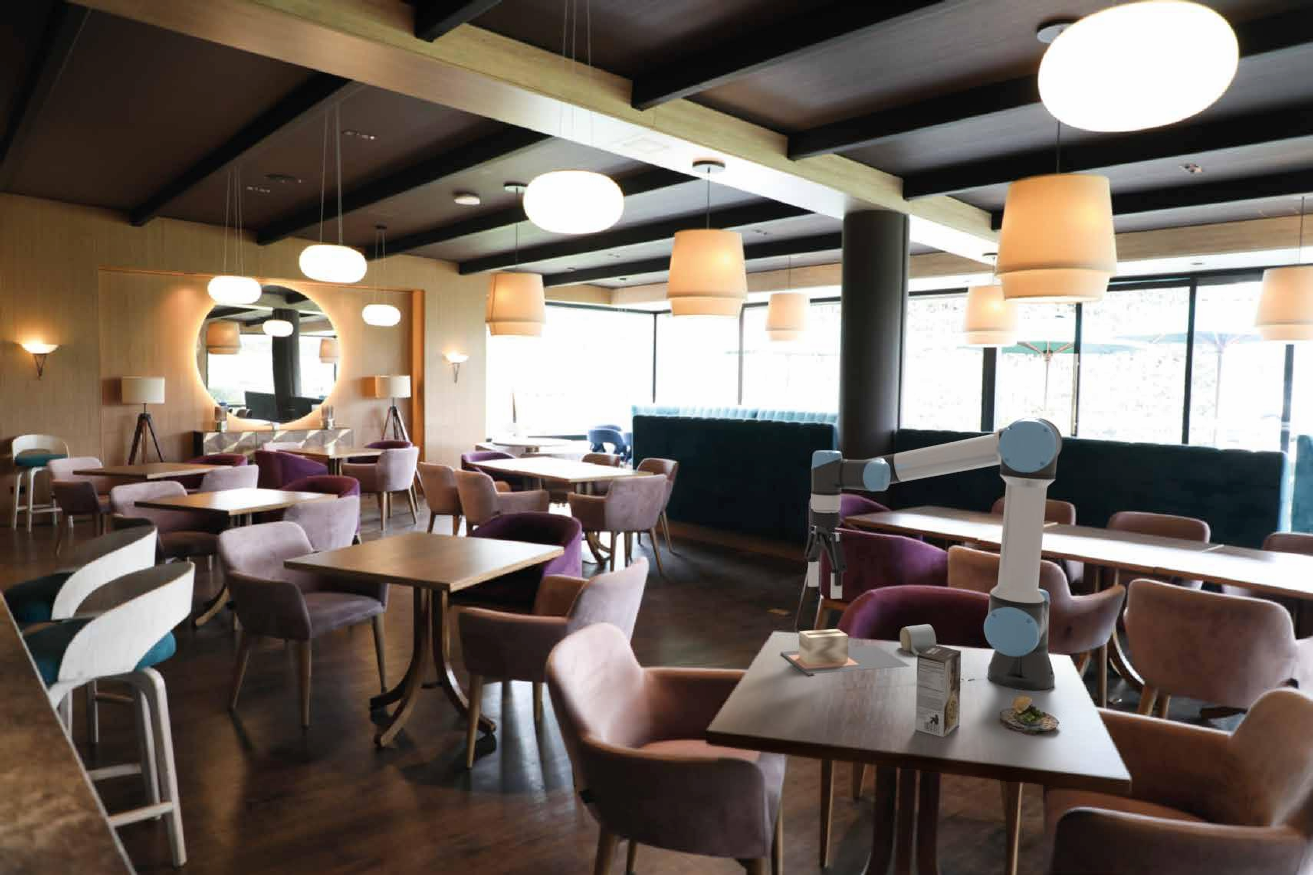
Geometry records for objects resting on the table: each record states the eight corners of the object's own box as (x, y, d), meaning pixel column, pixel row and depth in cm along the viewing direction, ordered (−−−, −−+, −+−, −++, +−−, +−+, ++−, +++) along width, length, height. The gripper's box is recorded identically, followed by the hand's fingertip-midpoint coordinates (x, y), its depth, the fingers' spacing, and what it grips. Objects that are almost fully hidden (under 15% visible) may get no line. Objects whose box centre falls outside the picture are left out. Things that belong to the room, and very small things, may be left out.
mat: (910, 668, 218) (910, 665, 218) (808, 675, 211) (808, 673, 211) (875, 647, 235) (875, 644, 235) (780, 654, 228) (780, 651, 228)
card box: (808, 664, 217) (808, 637, 217) (798, 657, 223) (799, 630, 223) (847, 661, 220) (848, 634, 219) (837, 654, 226) (837, 628, 225)
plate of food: (1039, 741, 173) (1040, 705, 172) (987, 723, 182) (988, 688, 182) (1070, 728, 180) (1072, 693, 179) (1019, 711, 189) (1020, 678, 189)
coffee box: (930, 717, 185) (932, 643, 184) (960, 724, 181) (962, 649, 180) (913, 729, 178) (915, 653, 177) (944, 737, 174) (946, 660, 173)
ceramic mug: (897, 648, 235) (898, 621, 234) (924, 647, 236) (925, 621, 235) (913, 660, 225) (914, 632, 224) (941, 659, 226) (942, 632, 225)
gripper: (862, 516, 208) (860, 602, 209) (818, 503, 232) (817, 580, 233) (834, 517, 206) (832, 604, 207) (792, 504, 230) (791, 582, 232)
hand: (824, 592), depth 220 cm, fingers open, 13 cm apart
